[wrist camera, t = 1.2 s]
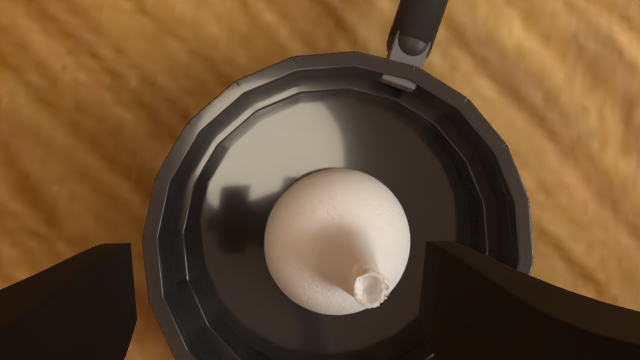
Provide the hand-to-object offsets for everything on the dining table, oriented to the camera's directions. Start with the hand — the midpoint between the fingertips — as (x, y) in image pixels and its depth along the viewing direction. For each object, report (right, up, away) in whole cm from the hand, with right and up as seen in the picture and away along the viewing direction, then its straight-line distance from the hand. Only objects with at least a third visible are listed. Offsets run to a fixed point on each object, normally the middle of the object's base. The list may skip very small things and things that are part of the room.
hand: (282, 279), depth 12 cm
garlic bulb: (+2, 0, +11) cm, 11 cm away
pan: (+2, 0, +11) cm, 11 cm away
